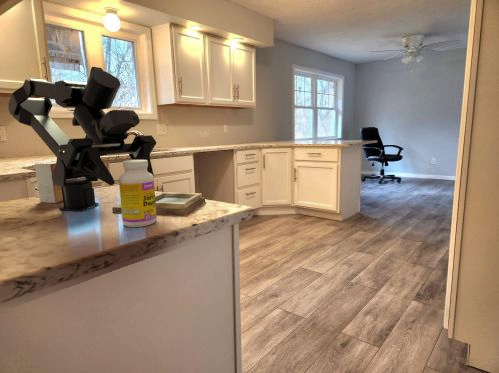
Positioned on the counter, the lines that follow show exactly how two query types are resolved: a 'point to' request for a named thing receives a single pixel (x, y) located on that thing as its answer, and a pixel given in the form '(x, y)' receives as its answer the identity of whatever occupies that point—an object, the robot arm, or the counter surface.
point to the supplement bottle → (137, 194)
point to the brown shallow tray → (173, 203)
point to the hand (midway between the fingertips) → (133, 180)
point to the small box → (47, 183)
